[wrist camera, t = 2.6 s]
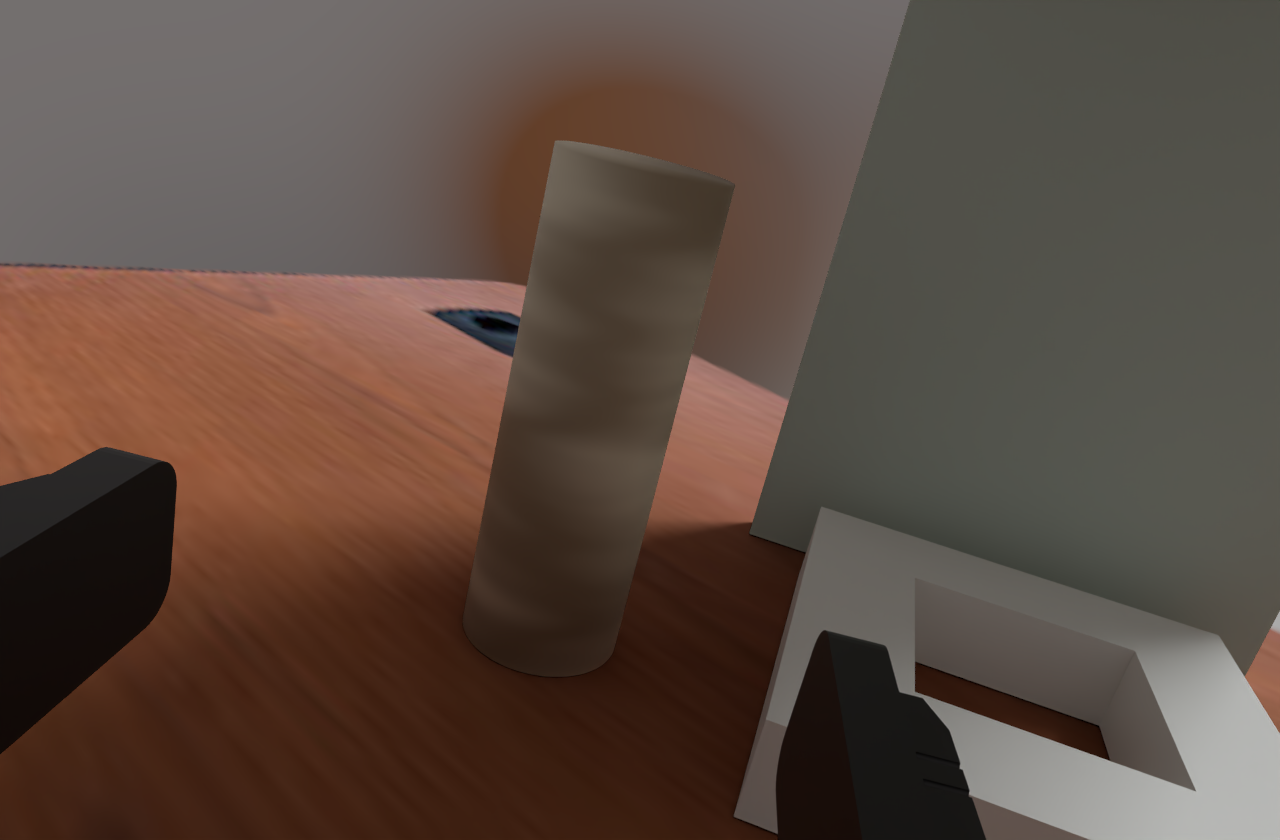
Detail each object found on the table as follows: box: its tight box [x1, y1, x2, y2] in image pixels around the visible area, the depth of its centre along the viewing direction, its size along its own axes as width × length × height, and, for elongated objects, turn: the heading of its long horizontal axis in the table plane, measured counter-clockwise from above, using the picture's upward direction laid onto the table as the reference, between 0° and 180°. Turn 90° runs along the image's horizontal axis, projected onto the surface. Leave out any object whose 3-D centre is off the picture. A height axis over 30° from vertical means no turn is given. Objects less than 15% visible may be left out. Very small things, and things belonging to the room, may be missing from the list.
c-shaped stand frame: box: [749, 0, 1280, 677], centre depth 20 cm, size 16×17×27 cm
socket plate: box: [734, 507, 1280, 840], centre depth 24 cm, size 12×12×2 cm
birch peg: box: [463, 141, 735, 677], centre depth 22 cm, size 4×4×12 cm
